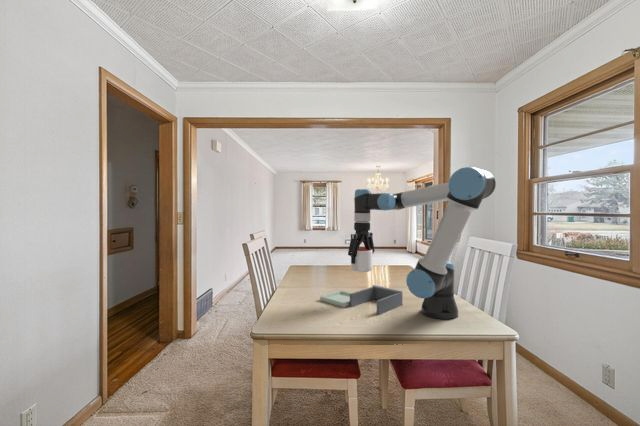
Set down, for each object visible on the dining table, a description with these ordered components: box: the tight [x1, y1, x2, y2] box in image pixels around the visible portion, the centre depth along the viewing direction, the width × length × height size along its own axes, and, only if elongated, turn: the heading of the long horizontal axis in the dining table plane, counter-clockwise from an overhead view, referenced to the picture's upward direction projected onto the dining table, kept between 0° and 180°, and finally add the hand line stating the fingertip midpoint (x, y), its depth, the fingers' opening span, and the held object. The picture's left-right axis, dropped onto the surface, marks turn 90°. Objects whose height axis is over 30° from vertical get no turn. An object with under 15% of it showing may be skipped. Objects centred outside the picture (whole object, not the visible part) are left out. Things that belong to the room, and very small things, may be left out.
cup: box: [350, 247, 373, 273], centre depth 152 cm, size 10×10×10 cm
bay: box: [349, 284, 403, 316], centre depth 151 cm, size 16×19×7 cm
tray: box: [319, 289, 352, 309], centre depth 160 cm, size 16×16×2 cm
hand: (361, 268), depth 152 cm, fingers closed on cup, 10 cm apart
